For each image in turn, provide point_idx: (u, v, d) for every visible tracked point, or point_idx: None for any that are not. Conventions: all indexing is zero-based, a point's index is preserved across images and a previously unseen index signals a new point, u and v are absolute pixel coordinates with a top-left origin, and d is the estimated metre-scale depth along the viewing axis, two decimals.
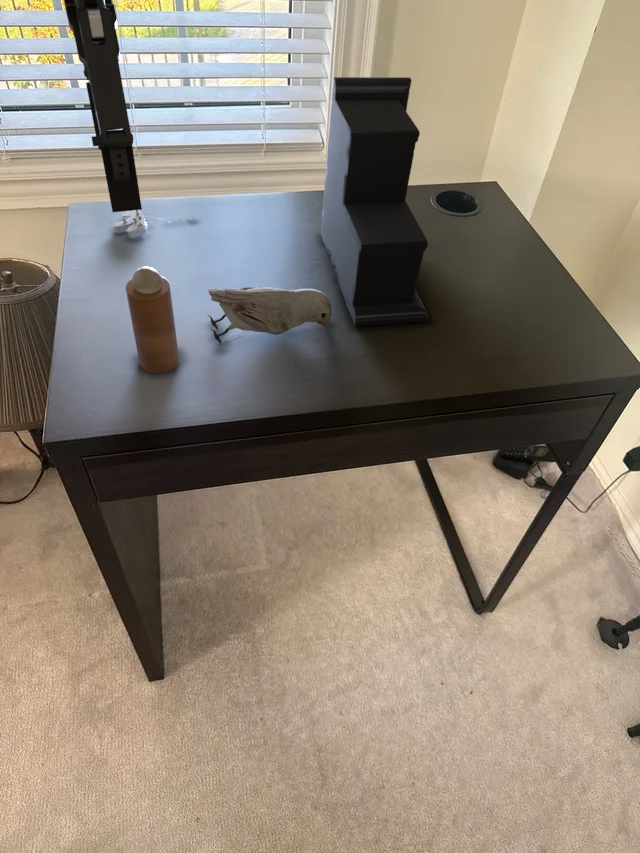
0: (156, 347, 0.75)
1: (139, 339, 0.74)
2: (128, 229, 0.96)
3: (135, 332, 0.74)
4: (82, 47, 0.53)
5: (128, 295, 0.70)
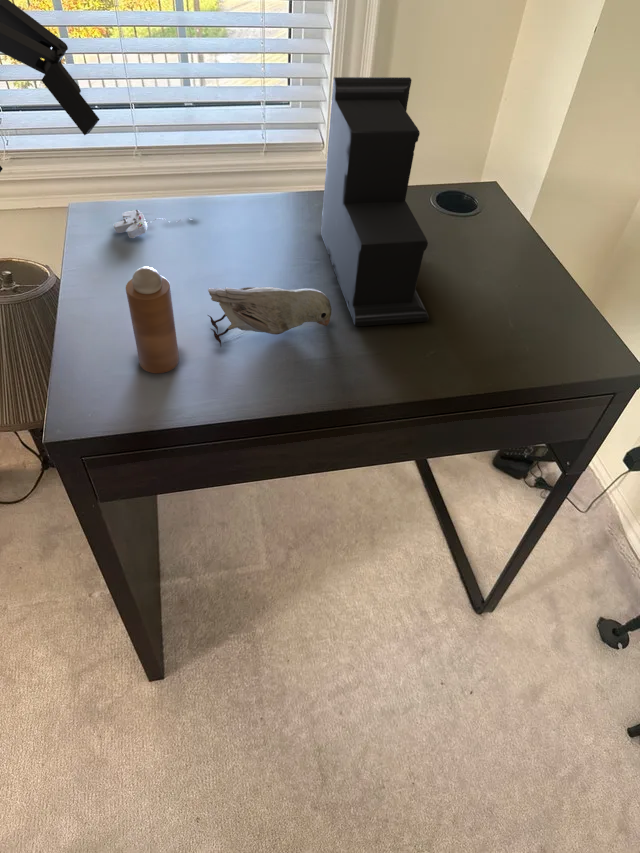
0: (156, 347, 0.75)
1: (139, 339, 0.74)
2: (128, 229, 0.96)
3: (135, 332, 0.74)
4: None
5: (128, 295, 0.70)
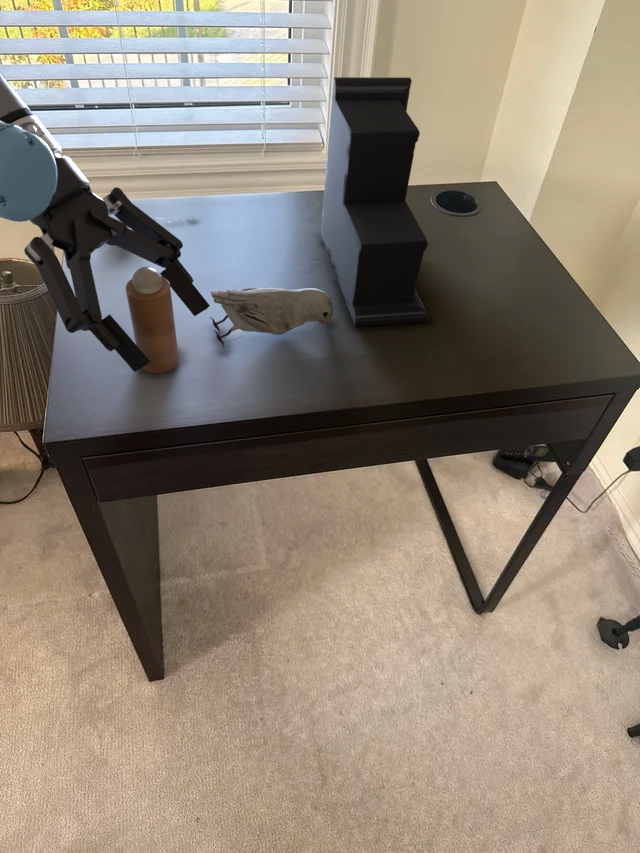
0: (156, 347, 0.75)
1: (139, 339, 0.74)
2: None
3: (135, 332, 0.74)
4: (67, 261, 0.69)
5: (128, 295, 0.70)
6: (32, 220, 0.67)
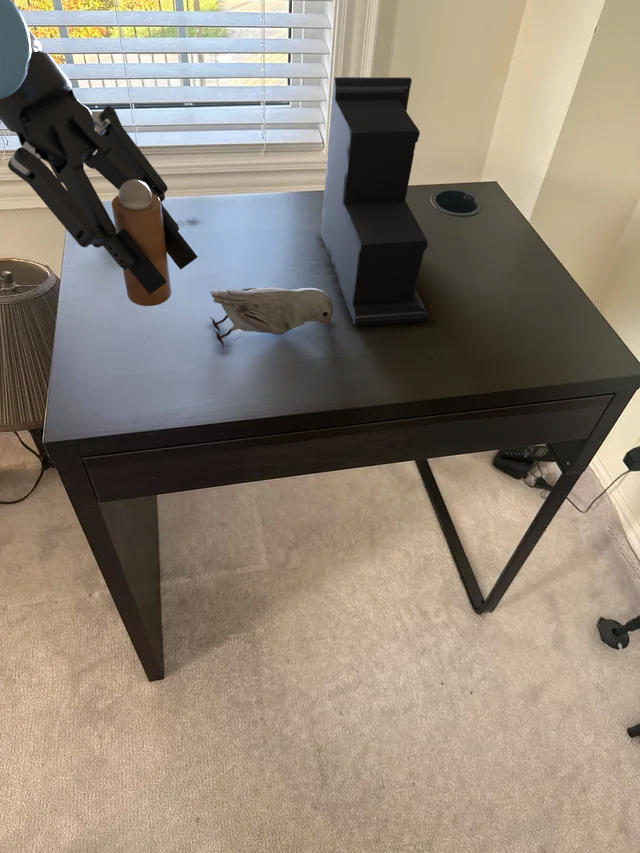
0: None
1: None
2: None
3: None
4: (58, 174, 0.63)
5: (114, 211, 0.63)
6: (7, 123, 0.60)
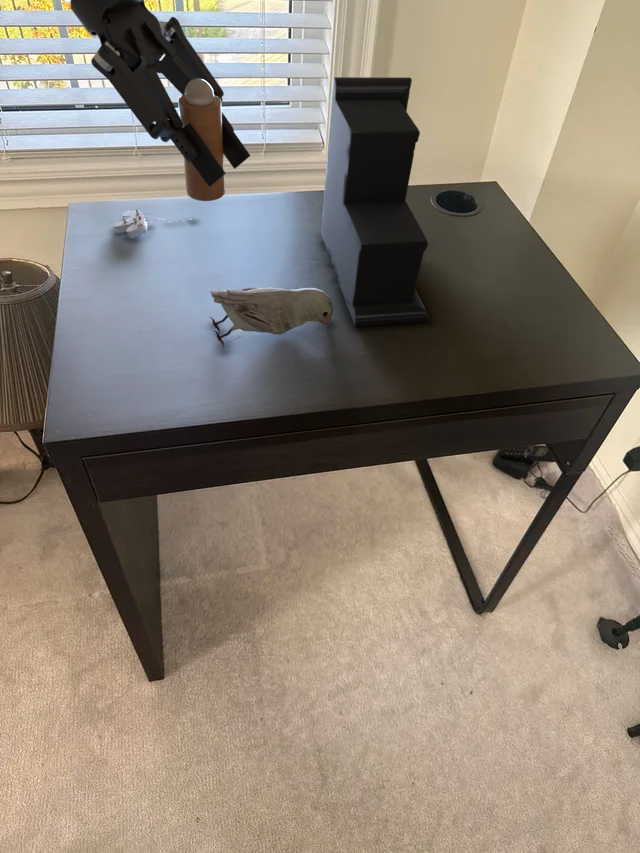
0: None
1: None
2: (128, 229, 0.96)
3: None
4: None
5: (181, 107, 0.72)
6: (90, 26, 0.69)
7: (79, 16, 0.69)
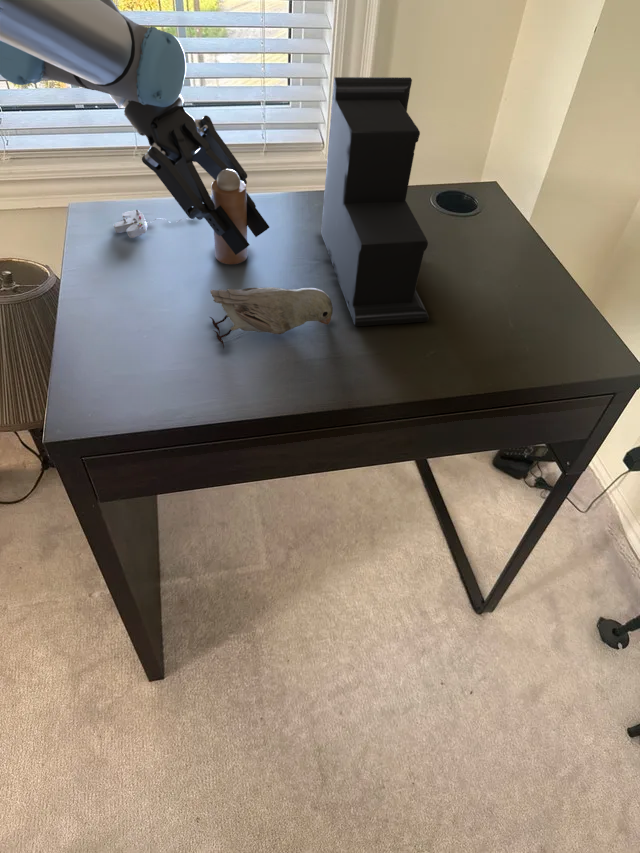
0: None
1: None
2: (128, 229, 0.96)
3: None
4: None
5: (213, 192, 0.87)
6: (140, 129, 0.84)
7: (131, 121, 0.84)
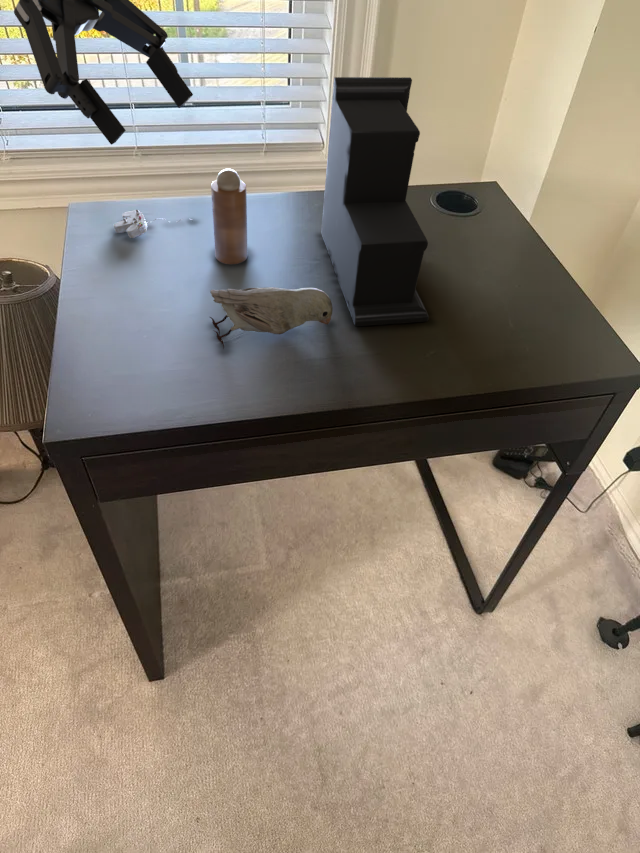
0: (232, 239, 0.92)
1: (218, 232, 0.91)
2: (128, 229, 0.96)
3: (216, 226, 0.91)
4: (54, 33, 0.74)
5: (213, 192, 0.87)
6: None
7: None
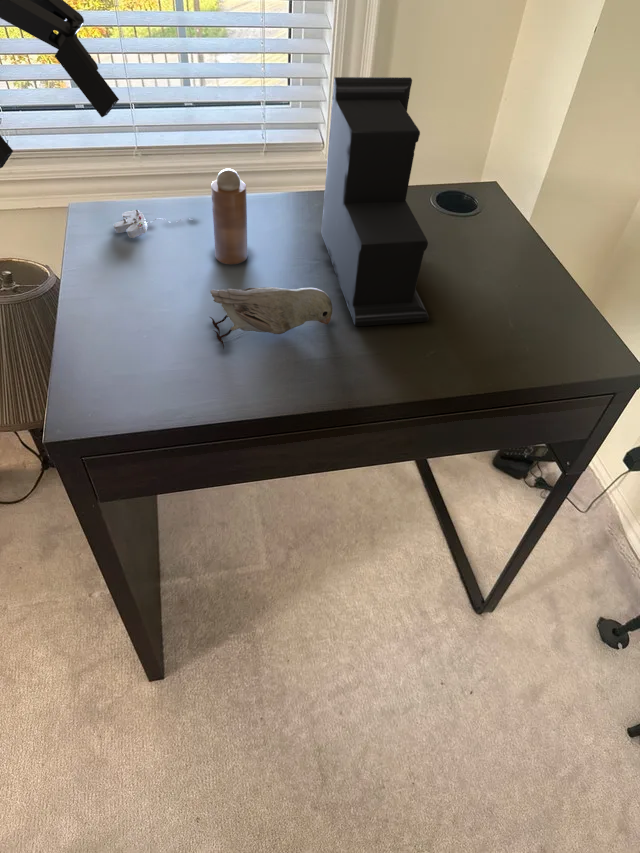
0: (232, 239, 0.92)
1: (218, 232, 0.91)
2: (128, 229, 0.96)
3: (216, 226, 0.91)
4: None
5: (213, 192, 0.87)
6: None
7: None
